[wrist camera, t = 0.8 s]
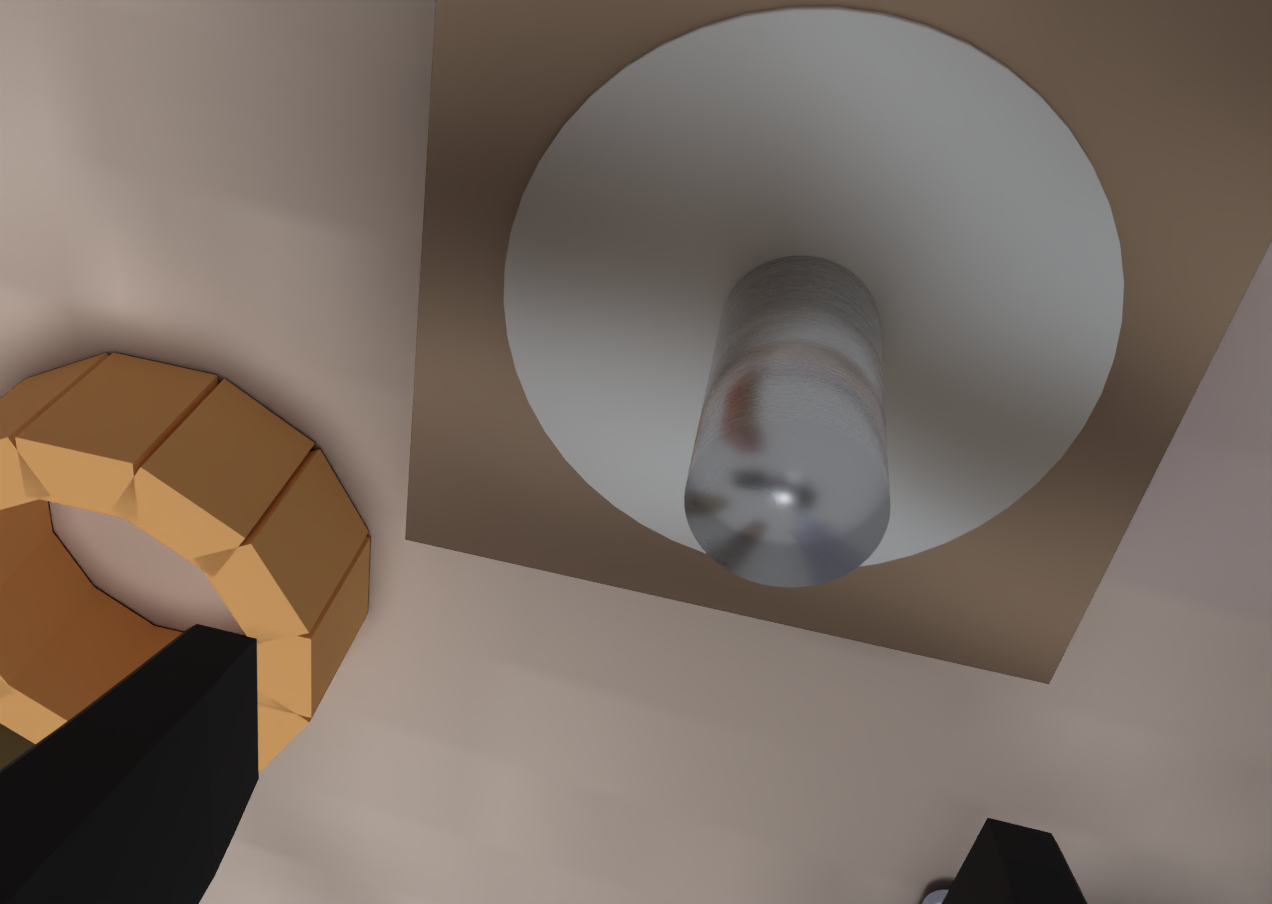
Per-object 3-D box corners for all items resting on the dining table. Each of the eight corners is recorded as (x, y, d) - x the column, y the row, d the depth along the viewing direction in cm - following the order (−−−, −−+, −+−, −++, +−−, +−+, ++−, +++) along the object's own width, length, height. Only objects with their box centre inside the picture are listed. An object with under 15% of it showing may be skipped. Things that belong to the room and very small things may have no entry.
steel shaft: (856, 403, 18) (859, 605, 14) (709, 371, 18) (668, 563, 14) (899, 266, 17) (916, 444, 13) (739, 232, 17) (704, 399, 13)
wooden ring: (364, 713, 25) (311, 821, 23) (20, 633, 26) (-69, 731, 23) (374, 409, 21) (311, 503, 18) (-42, 318, 21) (-160, 398, 19)
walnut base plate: (1041, 646, 21) (1051, 695, 20) (422, 508, 22) (399, 548, 21) (1366, -24, 15) (1406, -4, 14) (468, -200, 15) (440, -194, 14)
